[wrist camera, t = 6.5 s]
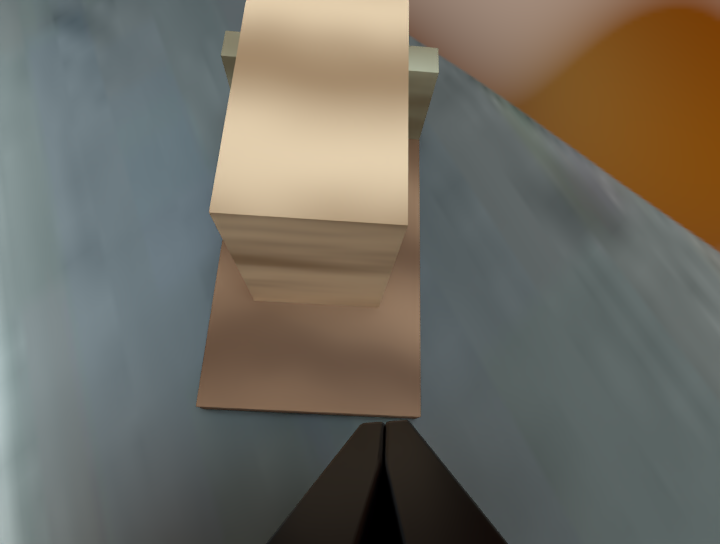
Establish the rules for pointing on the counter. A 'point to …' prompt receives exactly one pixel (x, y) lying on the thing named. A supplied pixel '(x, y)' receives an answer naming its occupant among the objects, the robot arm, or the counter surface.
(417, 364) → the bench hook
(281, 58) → the block
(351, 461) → the robot arm
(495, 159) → the counter surface
